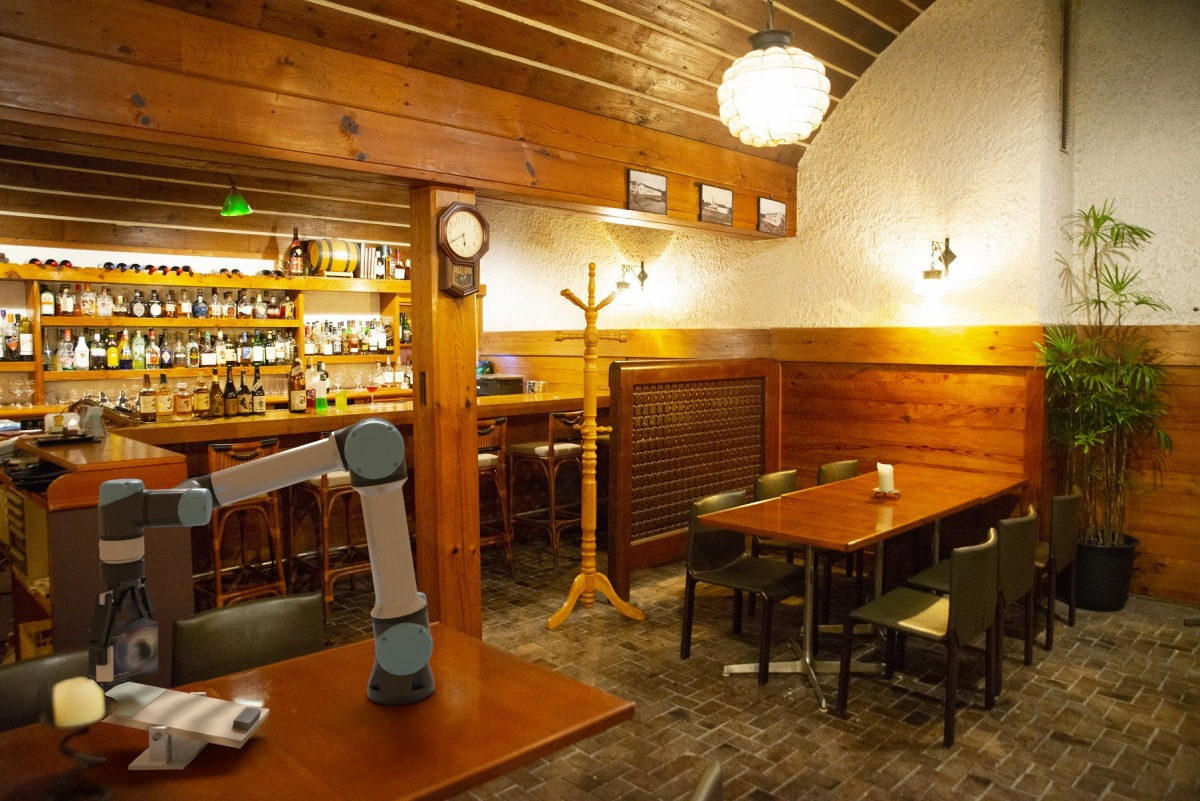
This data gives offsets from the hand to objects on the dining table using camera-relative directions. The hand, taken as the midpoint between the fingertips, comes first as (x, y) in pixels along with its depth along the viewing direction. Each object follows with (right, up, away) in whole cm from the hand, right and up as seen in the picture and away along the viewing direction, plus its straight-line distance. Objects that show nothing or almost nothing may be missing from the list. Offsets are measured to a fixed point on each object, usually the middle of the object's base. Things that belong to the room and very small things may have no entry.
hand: (123, 668), depth 156 cm
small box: (0, -2, 0) cm, 2 cm away
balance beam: (+11, -10, +1) cm, 14 cm away
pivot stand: (+10, -16, +1) cm, 19 cm away
